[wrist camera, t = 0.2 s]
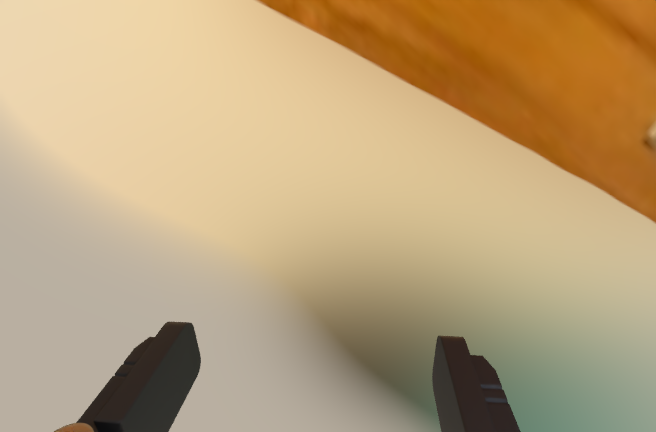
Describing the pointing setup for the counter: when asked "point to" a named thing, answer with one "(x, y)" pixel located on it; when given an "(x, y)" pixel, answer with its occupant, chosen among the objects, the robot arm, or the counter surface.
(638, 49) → the counter surface
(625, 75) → the counter surface
